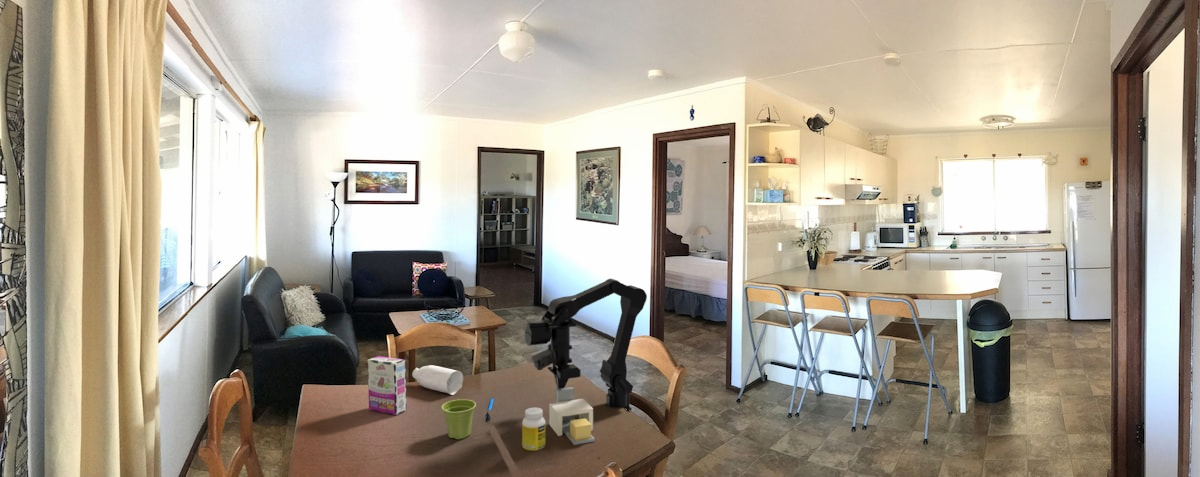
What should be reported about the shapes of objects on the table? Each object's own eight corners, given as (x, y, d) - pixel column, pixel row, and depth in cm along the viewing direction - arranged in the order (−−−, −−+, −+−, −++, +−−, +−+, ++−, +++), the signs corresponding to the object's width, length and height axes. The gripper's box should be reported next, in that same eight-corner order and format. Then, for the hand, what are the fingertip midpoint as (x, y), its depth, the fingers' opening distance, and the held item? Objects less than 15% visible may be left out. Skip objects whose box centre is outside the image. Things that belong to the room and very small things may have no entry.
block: (585, 433, 159) (585, 418, 159) (591, 440, 155) (591, 424, 155) (569, 436, 158) (569, 420, 157) (575, 443, 154) (575, 427, 153)
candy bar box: (407, 410, 179) (406, 359, 177) (396, 416, 174) (395, 363, 172) (379, 404, 183) (378, 354, 181) (368, 410, 178) (366, 359, 177)
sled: (573, 420, 170) (574, 386, 169) (594, 444, 155) (595, 407, 154) (554, 423, 168) (554, 389, 167) (574, 448, 152) (574, 410, 152)
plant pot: (446, 445, 155) (445, 414, 154) (439, 431, 163) (438, 402, 163) (480, 438, 159) (479, 408, 159) (471, 425, 168) (470, 397, 167)
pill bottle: (541, 457, 149) (541, 416, 148) (519, 454, 150) (518, 414, 149) (548, 446, 155) (548, 407, 154) (526, 444, 156) (526, 405, 155)
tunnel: (574, 415, 176) (574, 390, 175) (592, 434, 162) (593, 408, 161) (542, 420, 172) (542, 395, 171) (558, 440, 158) (558, 413, 157)
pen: (485, 423, 170) (484, 419, 170) (491, 399, 189) (491, 395, 189) (488, 422, 170) (487, 419, 170) (494, 399, 189) (494, 395, 189)
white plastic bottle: (425, 381, 205) (424, 359, 205) (464, 390, 196) (463, 367, 195) (407, 387, 199) (407, 365, 198) (447, 397, 189) (446, 374, 189)
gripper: (525, 336, 176) (525, 385, 177) (544, 353, 159) (544, 407, 160) (559, 333, 180) (559, 380, 182) (581, 348, 163) (581, 401, 165)
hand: (560, 392), depth 172 cm, fingers closed
